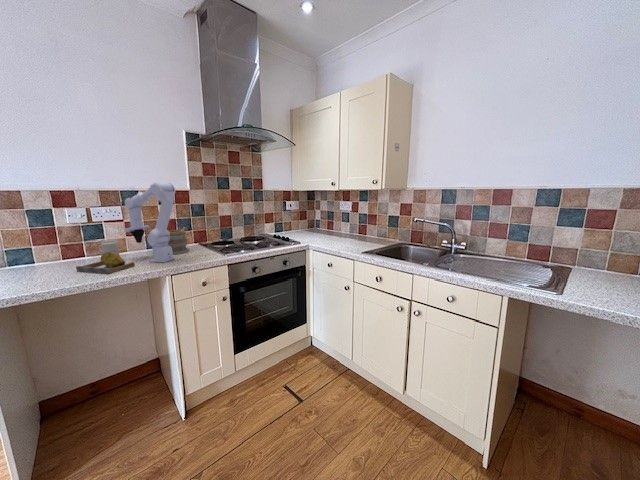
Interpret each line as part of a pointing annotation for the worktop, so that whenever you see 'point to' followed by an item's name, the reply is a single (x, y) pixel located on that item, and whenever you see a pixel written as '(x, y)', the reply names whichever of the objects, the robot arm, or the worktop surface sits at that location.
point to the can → (110, 246)
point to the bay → (95, 269)
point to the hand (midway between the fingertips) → (139, 242)
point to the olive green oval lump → (112, 260)
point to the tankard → (178, 241)
